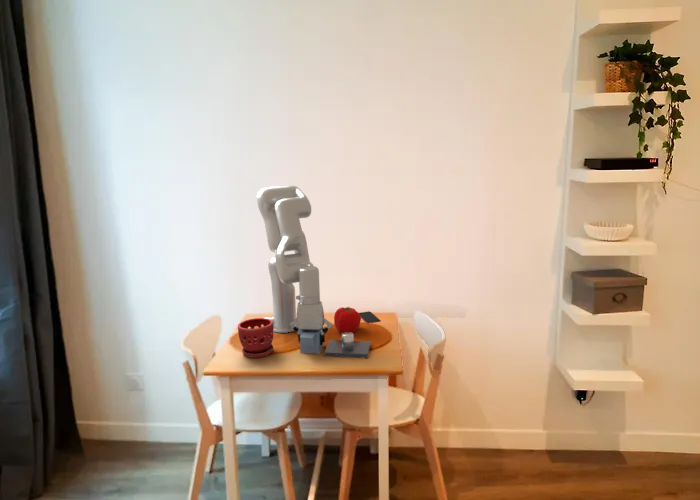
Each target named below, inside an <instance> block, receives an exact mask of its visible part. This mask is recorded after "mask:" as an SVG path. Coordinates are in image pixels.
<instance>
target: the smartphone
mask: <svg viewBox="0 0 700 500" xmlns="http://www.w3.org/2000/svg"><path fill="white" fill-rule="evenodd" d="M358 313H359V314H360V317H361V320H362V321H363V322H364V323H366V324H375V323H380V322H382V320H381V319H379V317H378V316H376V315H375V314H374V313H373V312H371V311H363V312H358Z"/></svg>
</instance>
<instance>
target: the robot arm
mask: <svg viewBox="0 0 700 500" xmlns="http://www.w3.org/2000/svg"><path fill="white" fill-rule="evenodd" d="M256 203H257V207H258V211H259V213H260V214H261V217H262V219H263V222H264V228H265V233H266V238H267V243H268V248H269V250H270V252H272V253H275V256H273V257H272V258H271V259H269V261H268V271H269V276H270V281H271V282H270V283H271V293H272V294H271V295H272V308H273V309H272V311H273V312H272V313H273V316H272V317H265V318H266V319H270V320H272V321H273V328H274V329H273V333H279V334H287V333H288V332H289V333H293V332H295V333H296V334H297V337H298V338H297V339H298V340H297V341H298V342H300V331H302V329H303V330H319V331H320V345H322V344H323V345H324V343H325V335H326V333H327V332H328V331H329V330H330V329H331V327H332V326H333V323H332V322H331V321H330V320H328V319H327V318H326V317H325V314H324V313H325V312H324V307H323V306H324V305H323V303H322V300H321V294H320V293H321V289H320V287H321V285H320V270H319V268H318V267H317V266H314V264H313V263H312V262H311V261H310V254H309V248H308V243H307V238H306V234H305V232H304V231H303V227H302V226H301V222H300V219H307V218H309V217H310V216H311V214H312V205H311V202H310V200H309V198H308V197H307V196H306V194H305V193H304V192H303V191H302V190H301V189H300V188H299V187H298V186H296V185H284V186H283V185H282V186H268V187H263V188H261V189H260V190H259V191H258V192H257V195H256ZM292 251H293V252H294V253H291V254H290V253H289V254H285V252H292ZM296 283H298V287H299V290H298V291H299V295H296V288H295V286H294V284H296ZM296 300H299V301H298V302H297V303H296ZM296 304H297V305H296ZM325 325H326V327H325V328H324V326H325Z"/></svg>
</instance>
